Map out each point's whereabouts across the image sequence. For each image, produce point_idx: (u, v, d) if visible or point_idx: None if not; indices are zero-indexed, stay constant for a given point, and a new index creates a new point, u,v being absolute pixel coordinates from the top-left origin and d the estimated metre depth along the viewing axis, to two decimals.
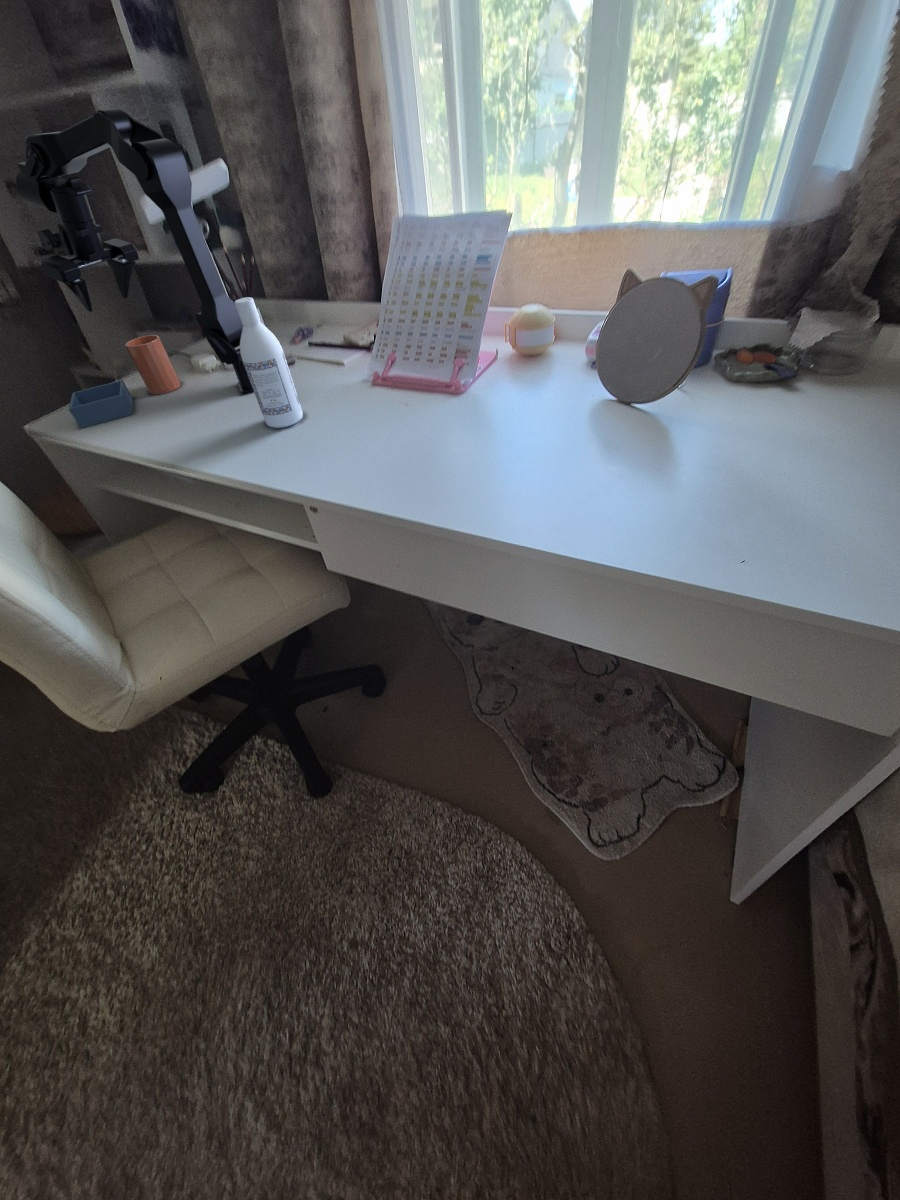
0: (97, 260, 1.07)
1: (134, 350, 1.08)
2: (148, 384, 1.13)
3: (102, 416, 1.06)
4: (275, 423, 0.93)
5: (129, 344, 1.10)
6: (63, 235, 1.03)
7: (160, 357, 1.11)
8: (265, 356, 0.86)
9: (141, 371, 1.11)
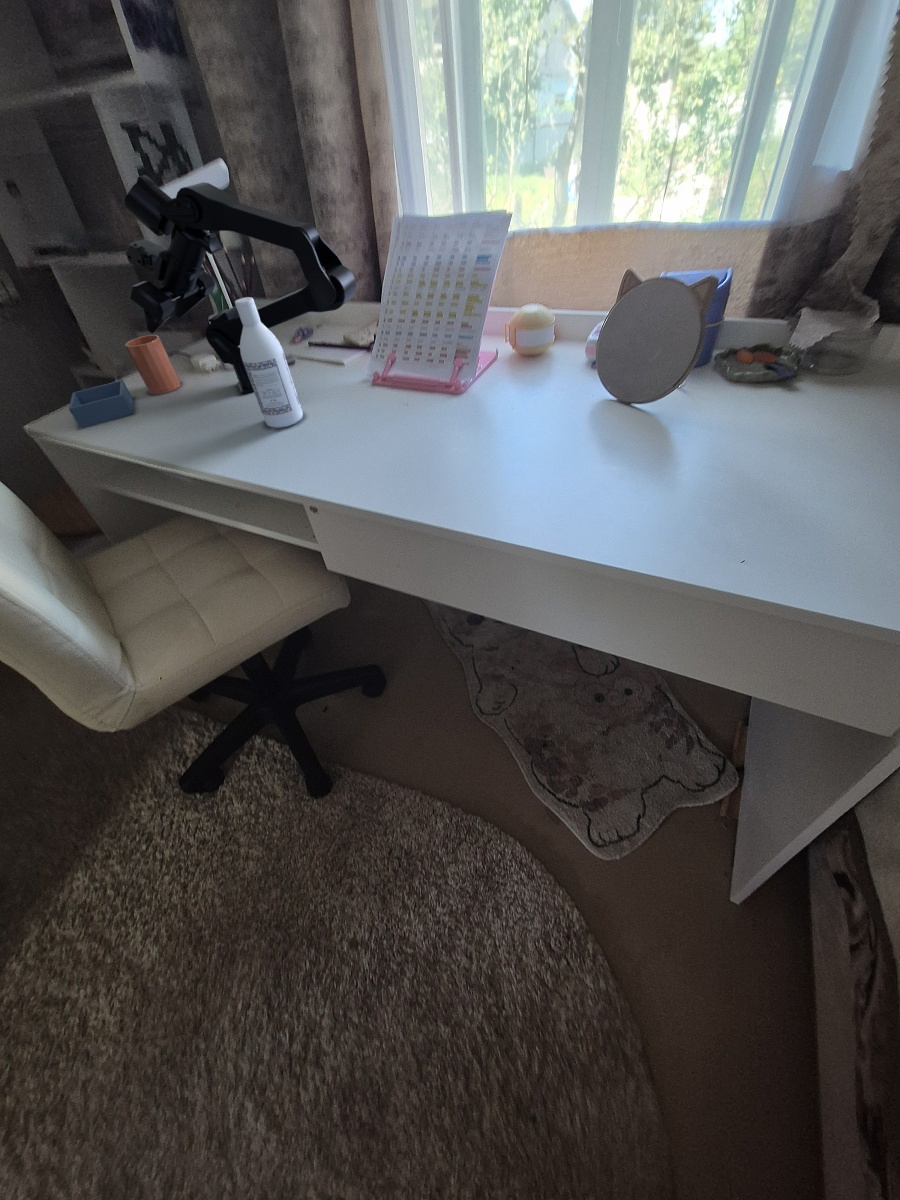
0: None
1: (134, 350, 1.08)
2: (148, 384, 1.13)
3: (102, 416, 1.06)
4: (275, 423, 0.93)
5: (129, 344, 1.10)
6: (161, 263, 0.95)
7: (160, 357, 1.11)
8: (265, 356, 0.86)
9: (141, 371, 1.11)
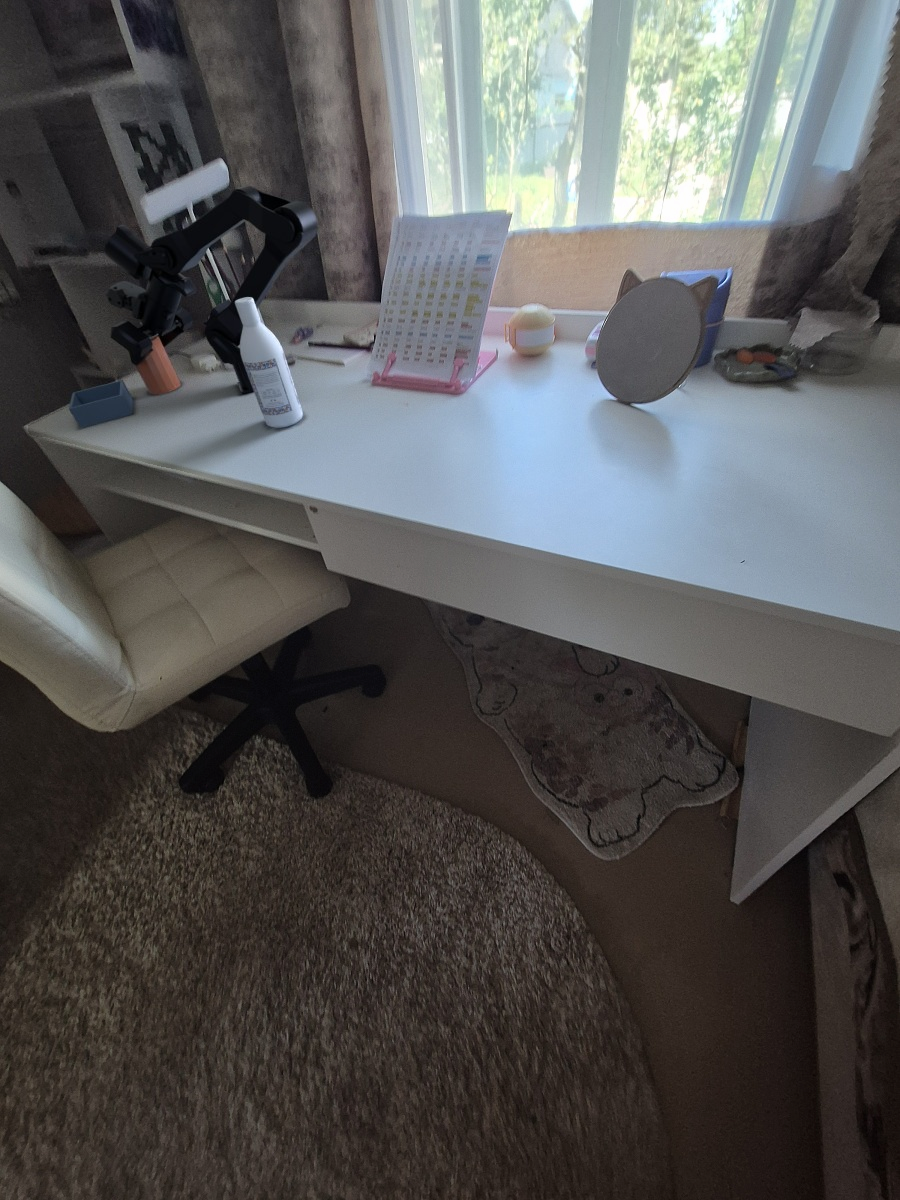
0: None
1: None
2: (148, 384, 1.13)
3: (102, 416, 1.06)
4: (275, 423, 0.93)
5: None
6: (140, 304, 1.02)
7: (160, 357, 1.11)
8: (265, 356, 0.86)
9: (141, 371, 1.11)
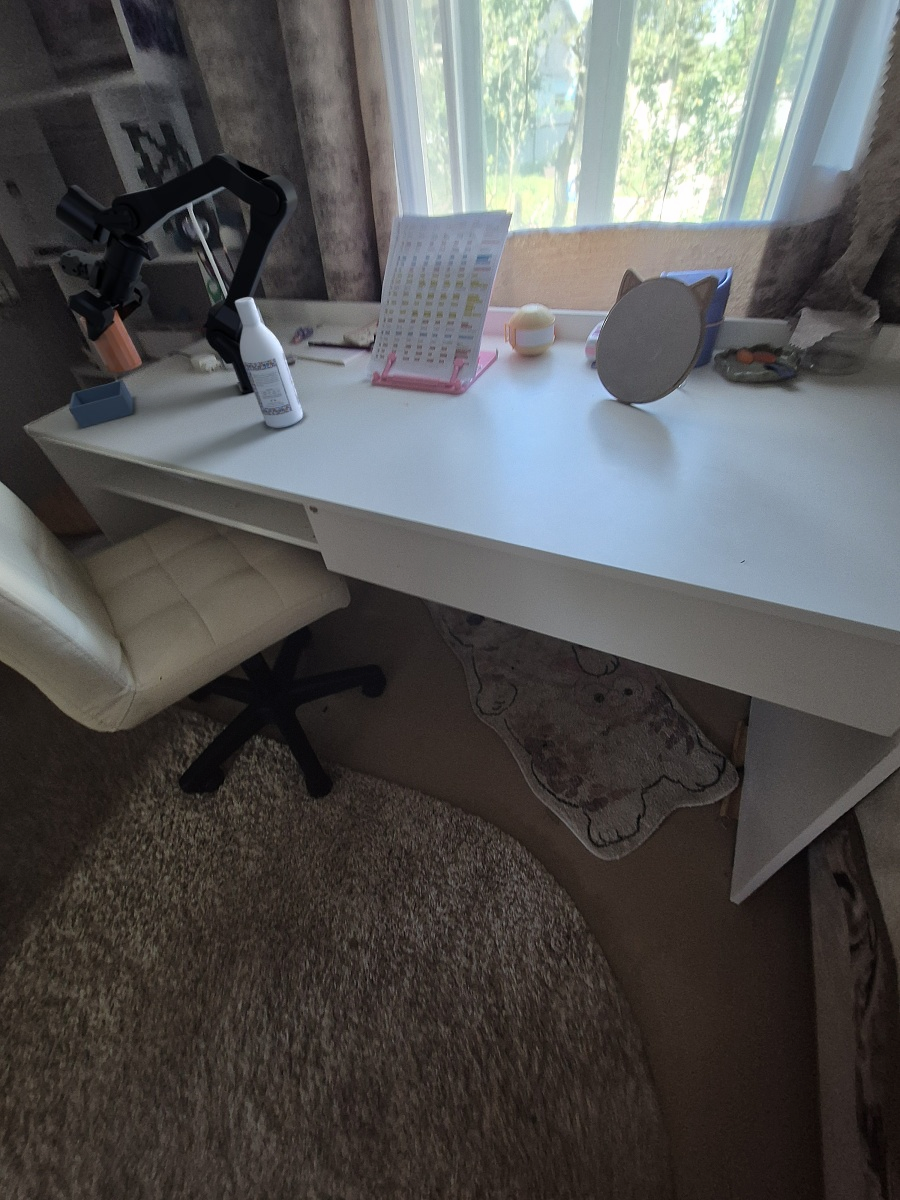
0: None
1: None
2: (108, 362, 1.06)
3: (102, 416, 1.06)
4: (275, 423, 0.93)
5: (83, 319, 1.03)
6: (97, 271, 0.96)
7: (120, 331, 1.04)
8: (265, 356, 0.86)
9: (99, 348, 1.04)
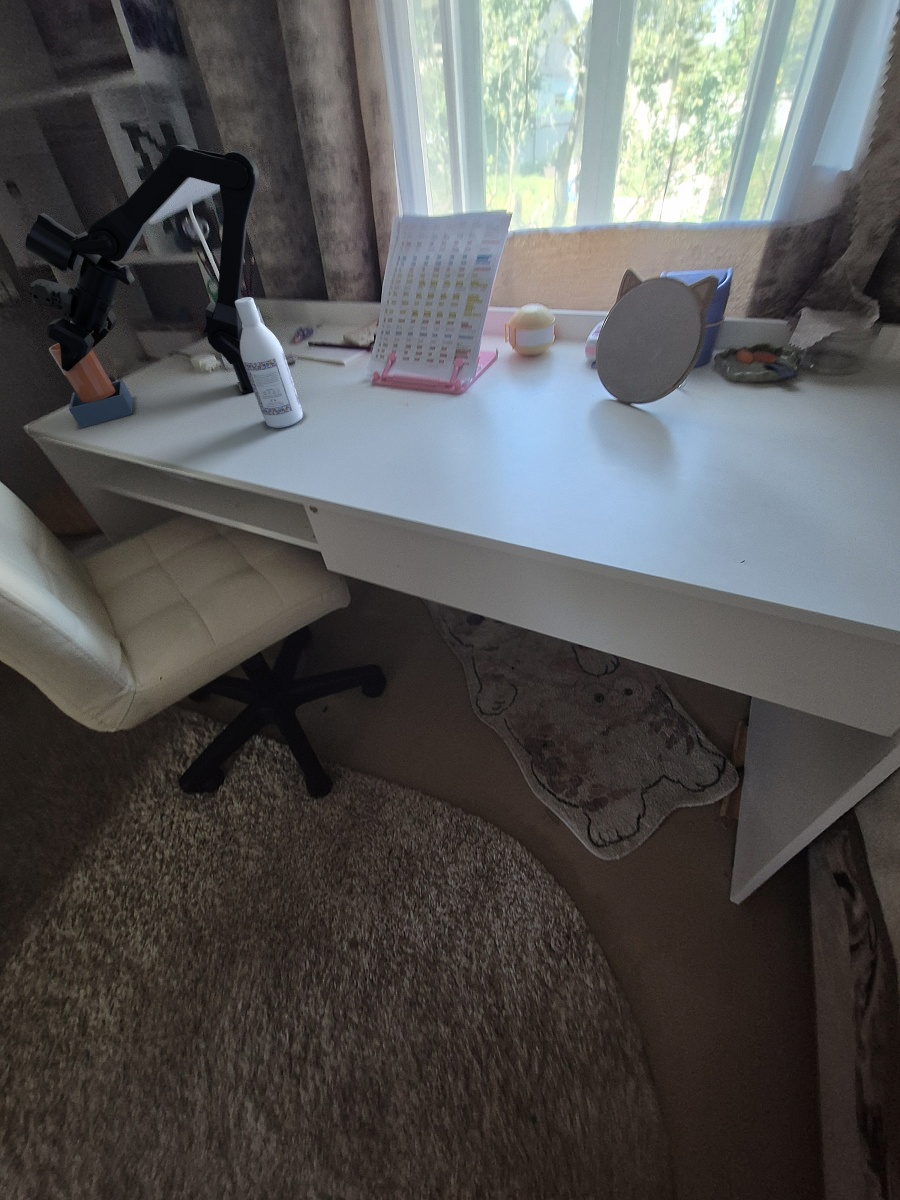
0: None
1: None
2: (83, 391, 1.03)
3: (102, 416, 1.06)
4: (275, 423, 0.93)
5: (52, 350, 1.00)
6: (71, 299, 0.94)
7: (93, 359, 1.02)
8: (265, 356, 0.86)
9: (73, 377, 1.01)
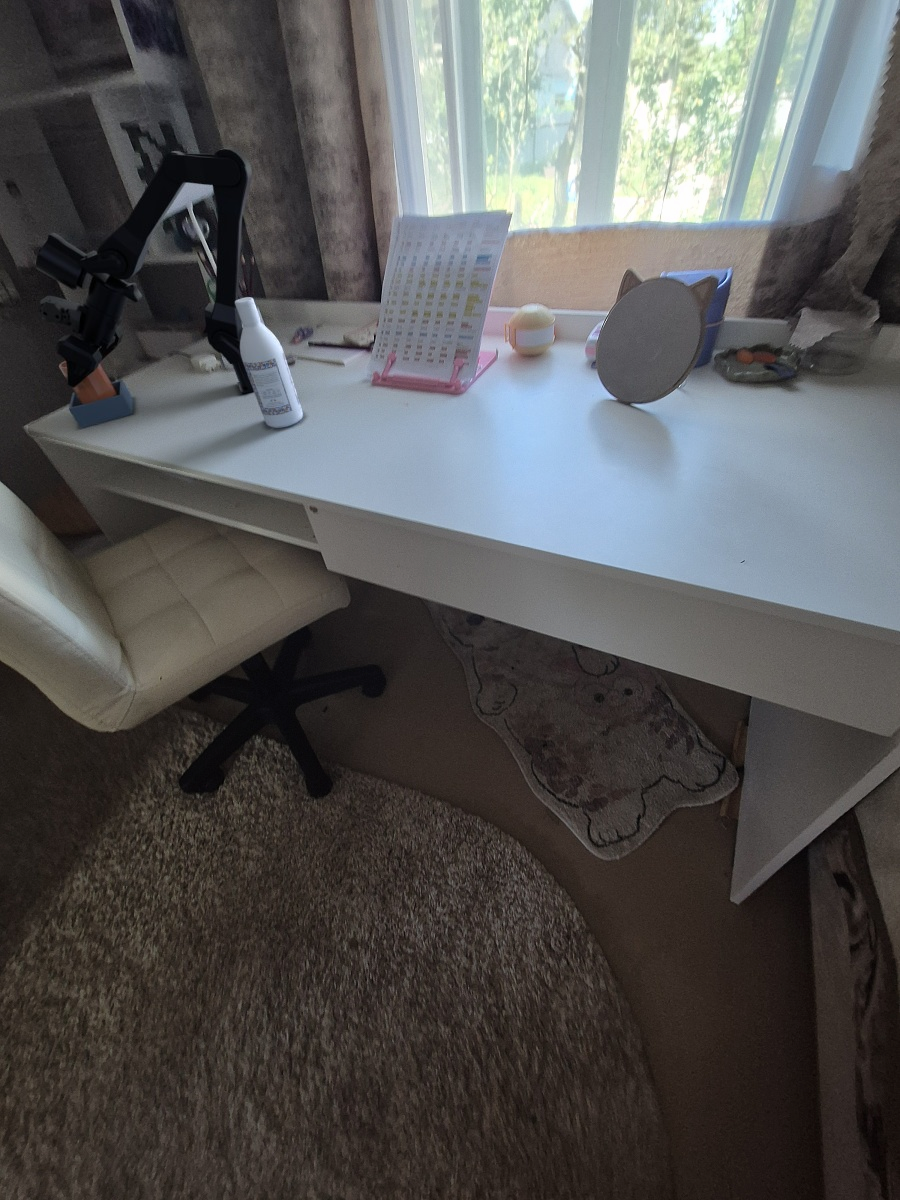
0: None
1: None
2: None
3: (102, 416, 1.06)
4: (275, 423, 0.93)
5: (62, 367, 1.02)
6: (80, 316, 0.96)
7: (102, 375, 1.04)
8: (265, 356, 0.86)
9: (83, 393, 1.04)
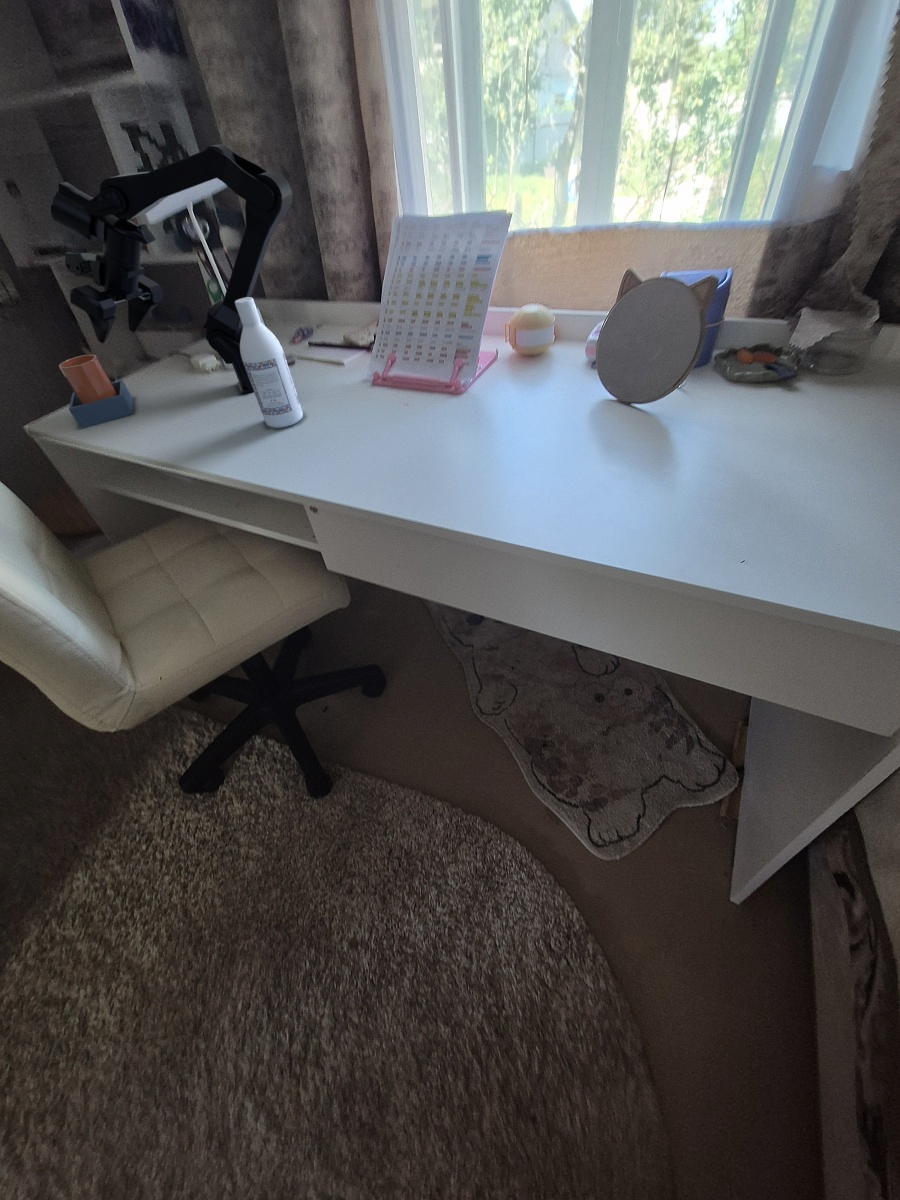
0: None
1: (75, 370, 1.01)
2: None
3: (102, 416, 1.06)
4: (275, 423, 0.93)
5: (62, 367, 1.02)
6: (99, 266, 0.95)
7: (102, 375, 1.04)
8: (265, 356, 0.86)
9: (83, 393, 1.04)
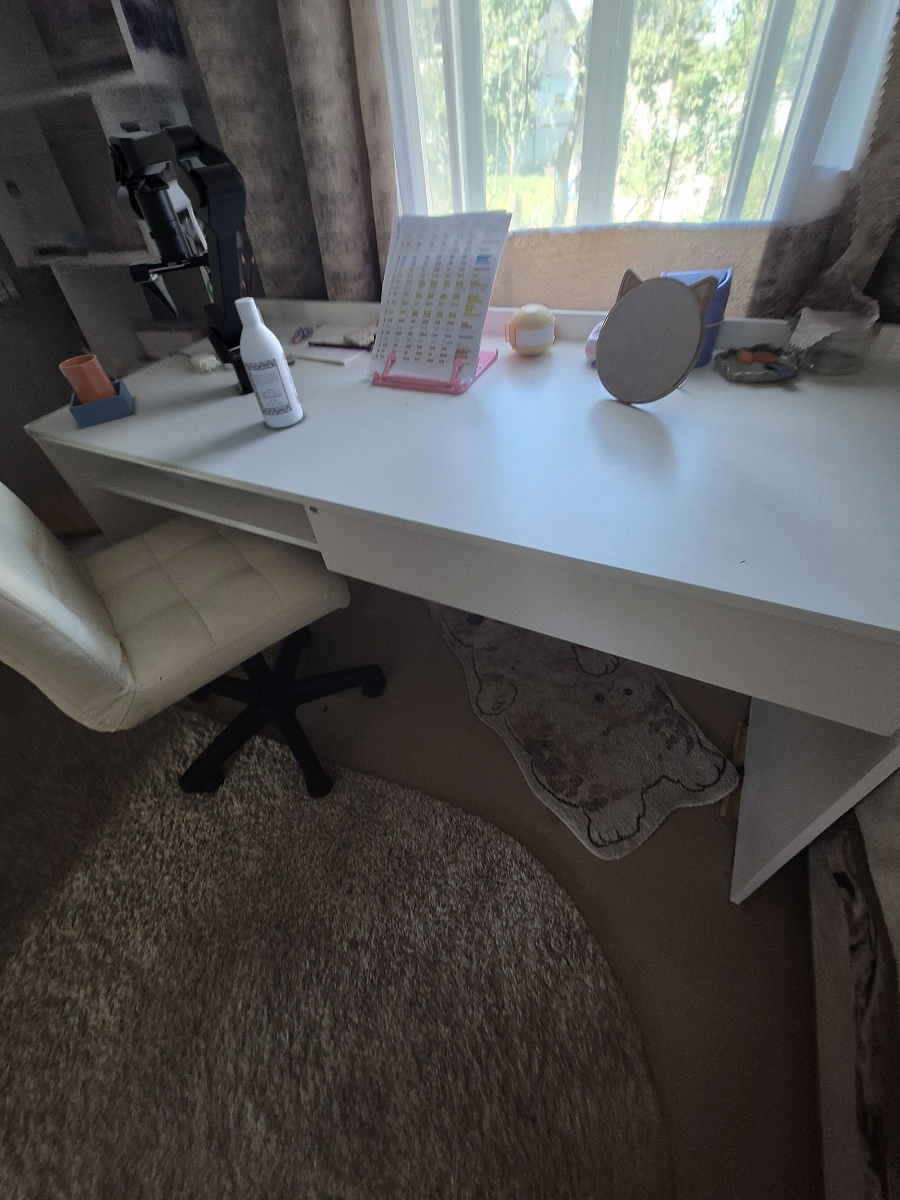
0: (178, 265, 1.02)
1: (75, 370, 1.01)
2: None
3: (102, 416, 1.06)
4: (275, 423, 0.93)
5: (62, 367, 1.02)
6: None
7: (102, 375, 1.04)
8: (265, 356, 0.86)
9: (83, 393, 1.04)
